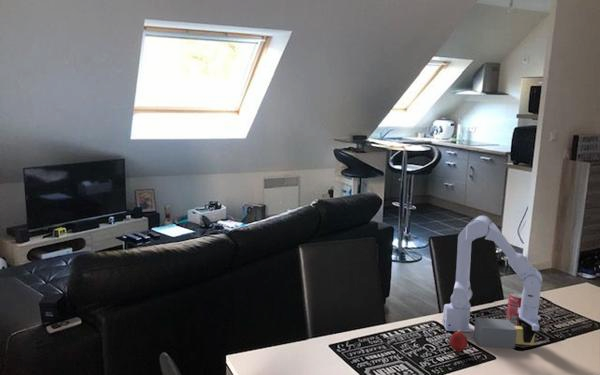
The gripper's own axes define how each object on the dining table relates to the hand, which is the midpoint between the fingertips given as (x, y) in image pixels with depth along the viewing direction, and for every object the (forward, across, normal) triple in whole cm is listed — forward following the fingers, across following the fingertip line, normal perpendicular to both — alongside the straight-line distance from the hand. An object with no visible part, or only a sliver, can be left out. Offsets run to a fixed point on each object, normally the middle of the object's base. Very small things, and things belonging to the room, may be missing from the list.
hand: (525, 340), depth 172 cm
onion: (+2, -9, +26) cm, 28 cm away
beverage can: (+2, +16, -2) cm, 16 cm away
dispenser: (+1, 0, +11) cm, 11 cm away
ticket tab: (+1, 0, +6) cm, 6 cm away
